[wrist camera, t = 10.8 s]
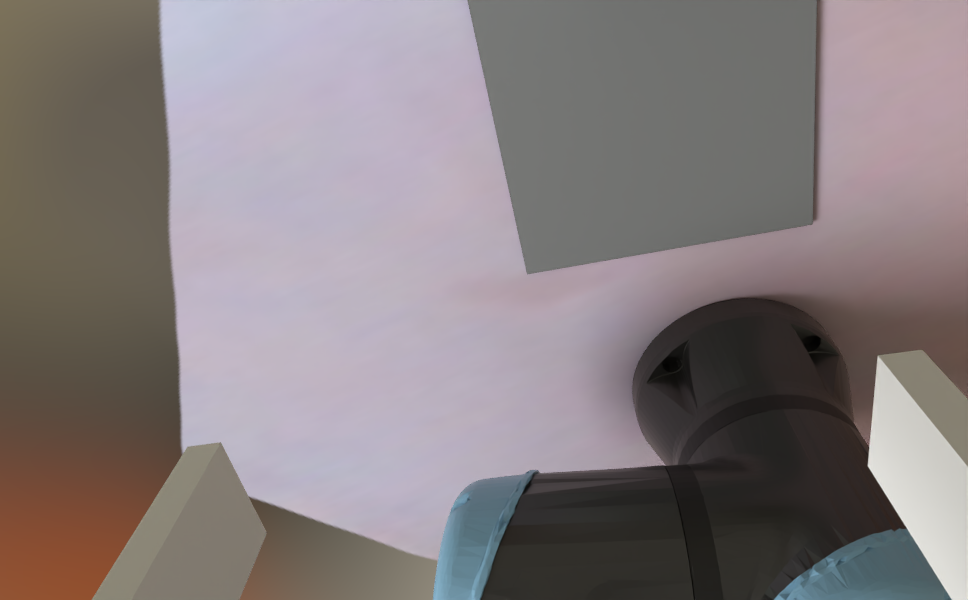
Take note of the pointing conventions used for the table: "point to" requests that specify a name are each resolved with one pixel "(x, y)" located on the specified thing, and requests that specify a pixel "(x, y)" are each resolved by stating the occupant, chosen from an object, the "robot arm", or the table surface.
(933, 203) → the table surface
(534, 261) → the mat
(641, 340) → the table surface
